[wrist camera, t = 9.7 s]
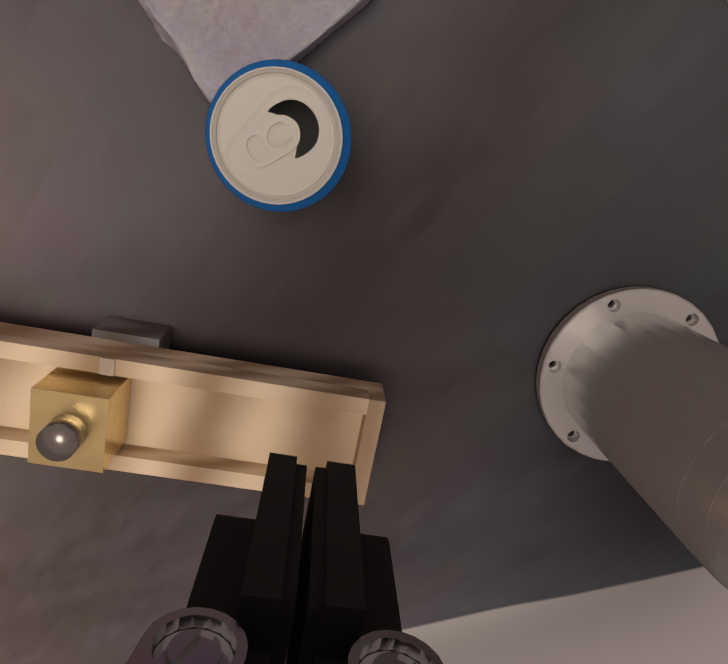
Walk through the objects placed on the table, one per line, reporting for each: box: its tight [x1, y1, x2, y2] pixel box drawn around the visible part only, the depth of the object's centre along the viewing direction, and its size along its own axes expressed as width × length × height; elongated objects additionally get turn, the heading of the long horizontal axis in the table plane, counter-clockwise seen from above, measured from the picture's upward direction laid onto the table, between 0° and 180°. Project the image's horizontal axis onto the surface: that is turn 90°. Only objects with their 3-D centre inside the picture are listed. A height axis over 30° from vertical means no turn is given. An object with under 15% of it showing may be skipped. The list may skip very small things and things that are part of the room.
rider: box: [28, 367, 132, 473], centre depth 34 cm, size 4×4×6 cm
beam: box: [0, 316, 386, 505], centre depth 38 cm, size 32×8×6 cm, turn 79°
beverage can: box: [205, 59, 352, 212], centre depth 32 cm, size 6×6×12 cm
